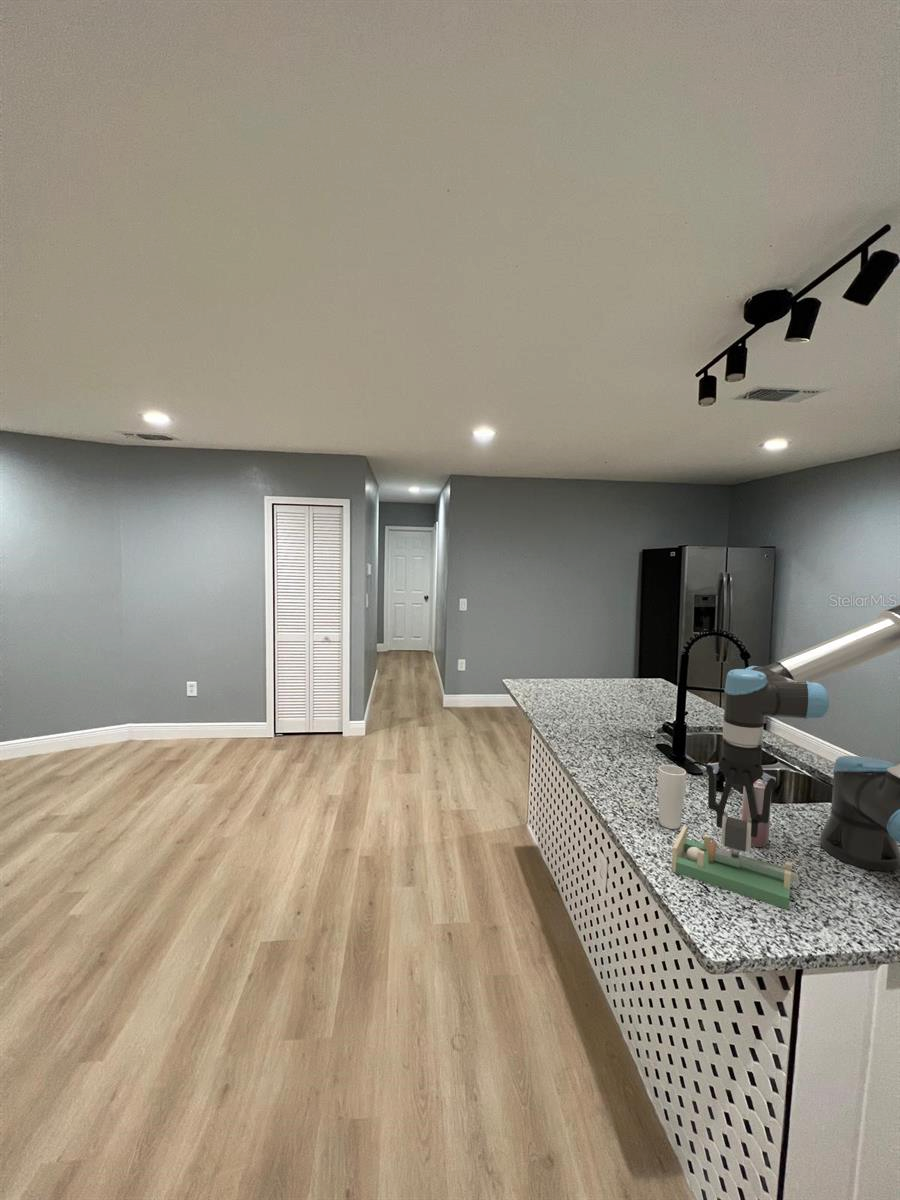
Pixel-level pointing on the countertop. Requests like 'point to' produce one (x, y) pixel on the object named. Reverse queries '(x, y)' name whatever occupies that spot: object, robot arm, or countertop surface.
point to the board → (731, 873)
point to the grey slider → (737, 843)
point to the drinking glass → (671, 795)
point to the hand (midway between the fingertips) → (735, 845)
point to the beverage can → (762, 827)
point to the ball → (692, 854)
